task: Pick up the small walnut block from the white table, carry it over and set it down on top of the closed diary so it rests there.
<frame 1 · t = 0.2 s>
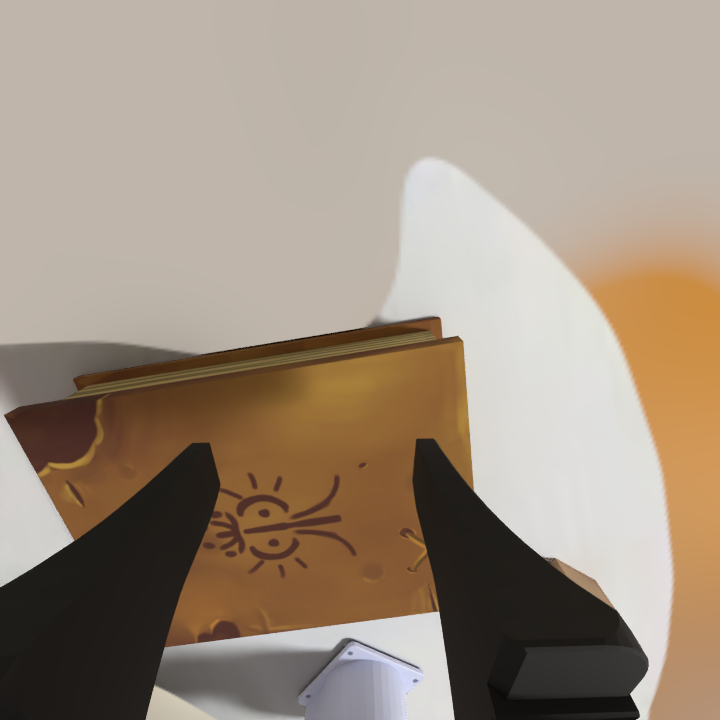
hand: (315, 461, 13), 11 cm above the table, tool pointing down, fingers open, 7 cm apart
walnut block: (555, 586, 30), on the table
diary: (290, 465, 26), on the table
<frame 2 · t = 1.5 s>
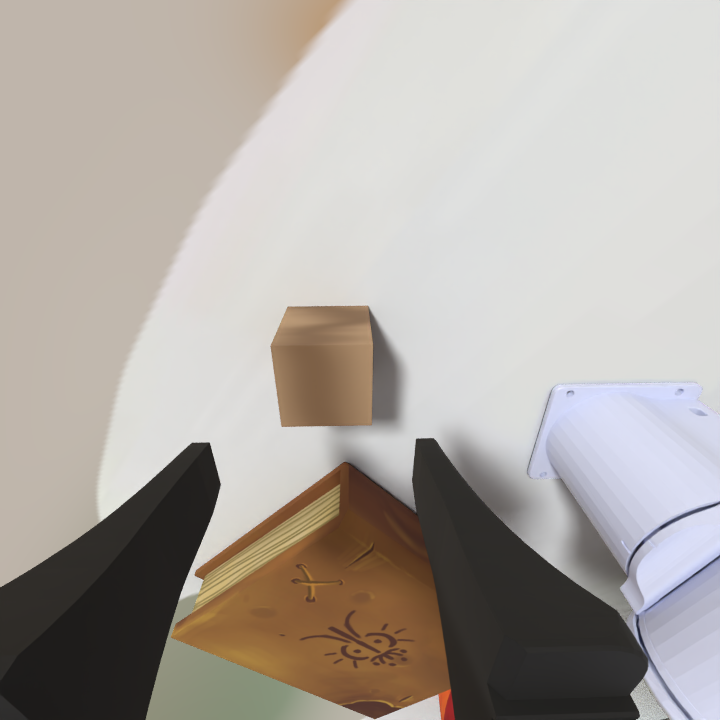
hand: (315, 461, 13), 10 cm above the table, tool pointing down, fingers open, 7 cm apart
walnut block: (329, 342, 21), on the table
diary: (362, 572, 33), on the table
paper cup: (460, 684, 44), on the table
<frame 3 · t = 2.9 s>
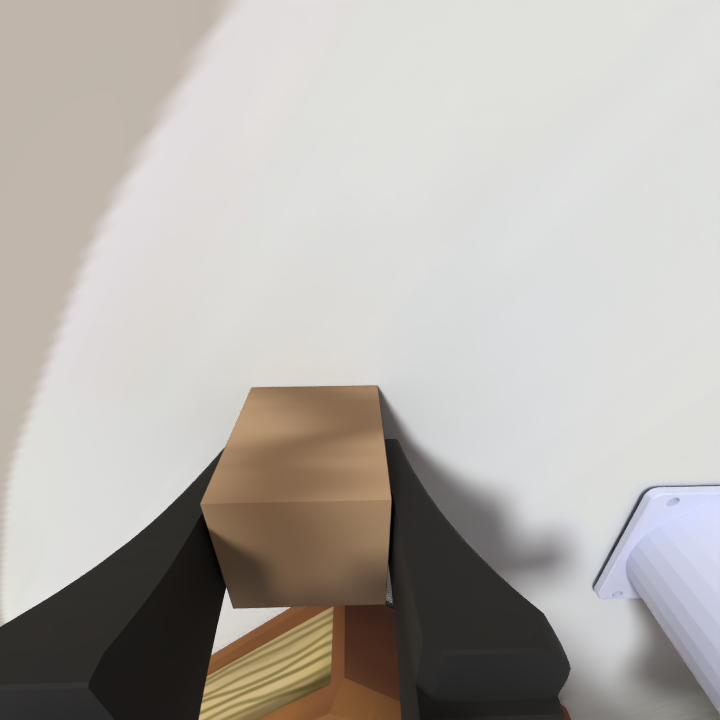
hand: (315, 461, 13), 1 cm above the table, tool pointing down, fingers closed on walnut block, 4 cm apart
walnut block: (318, 435, 14), on the table, touching gripper
diary: (365, 685, 26), on the table
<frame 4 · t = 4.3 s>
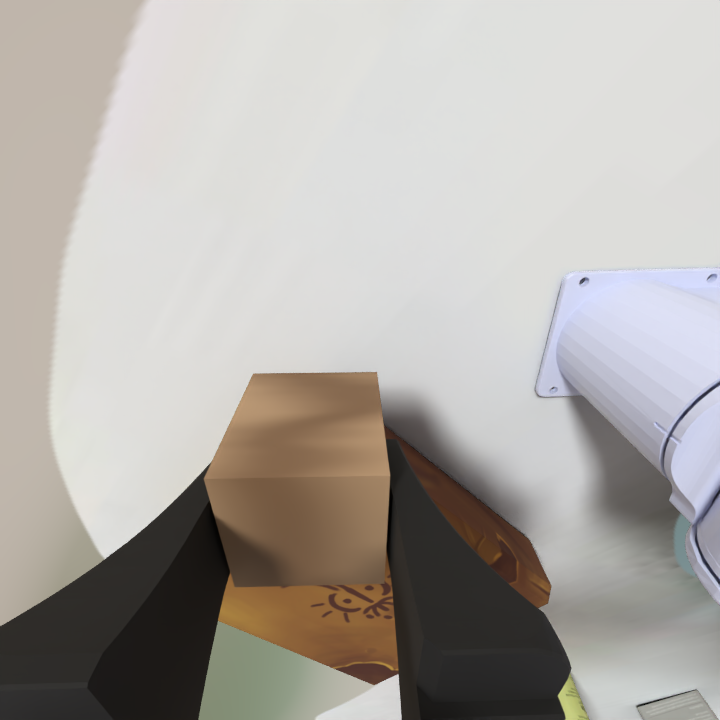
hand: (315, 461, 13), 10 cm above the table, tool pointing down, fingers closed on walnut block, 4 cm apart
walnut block: (318, 422, 14), point 8 cm above the table, touching gripper
diary: (354, 521, 30), on the table
tube: (544, 666, 43), on the table
skincare box: (669, 701, 49), on the table
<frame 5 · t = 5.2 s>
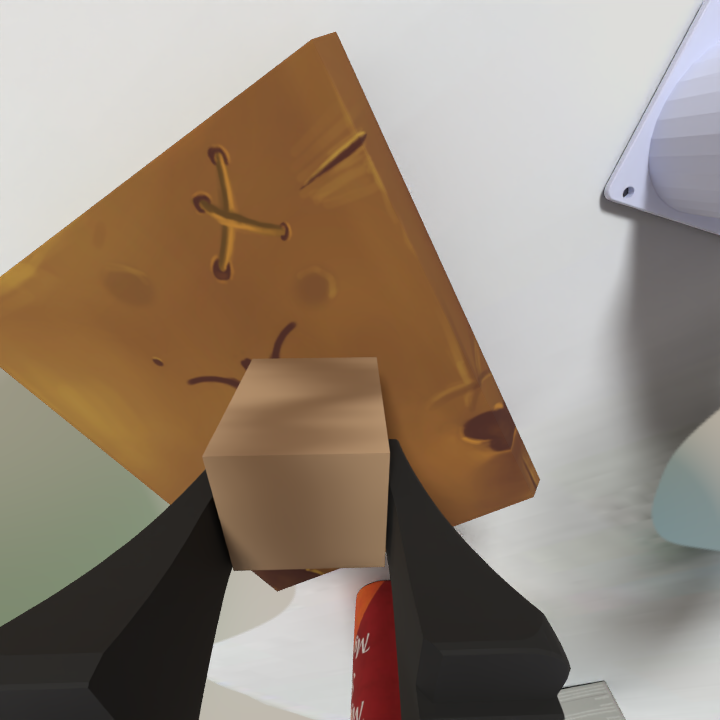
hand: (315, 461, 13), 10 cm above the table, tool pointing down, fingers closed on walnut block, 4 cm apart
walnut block: (318, 408, 14), point 8 cm above the table, touching gripper
diary: (307, 362, 22), on the table
paper cup: (385, 595, 34), on the table
skincare box: (573, 691, 46), on the table
when the fingers open (9 cm above the table, at t = 5.9 s): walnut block drops 2 cm, resting on diary.
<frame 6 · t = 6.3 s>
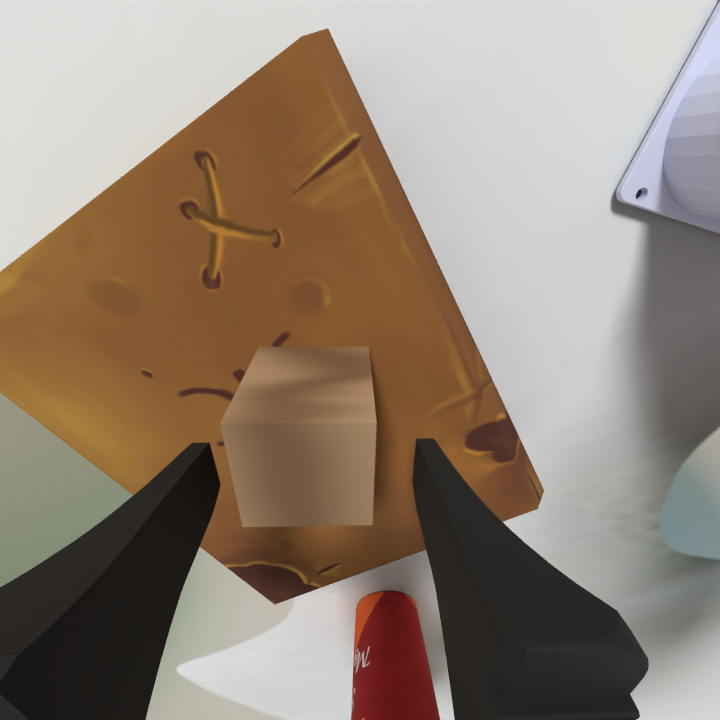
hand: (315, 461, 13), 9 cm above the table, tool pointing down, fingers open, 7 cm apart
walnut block: (316, 392, 16), point 5 cm above the table, touching diary
diary: (303, 370, 22), on the table, touching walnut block
paper cup: (386, 605, 34), on the table
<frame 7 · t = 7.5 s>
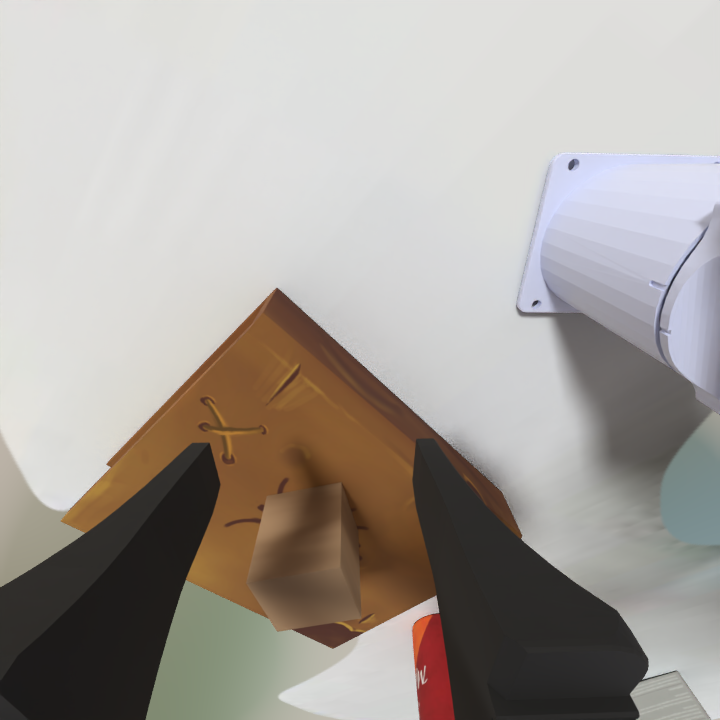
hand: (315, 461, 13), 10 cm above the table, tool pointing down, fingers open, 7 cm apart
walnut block: (314, 514, 22), point 5 cm above the table
diary: (314, 468, 28), on the table
paper cup: (437, 625, 39), on the table
skincare box: (649, 683, 47), on the table
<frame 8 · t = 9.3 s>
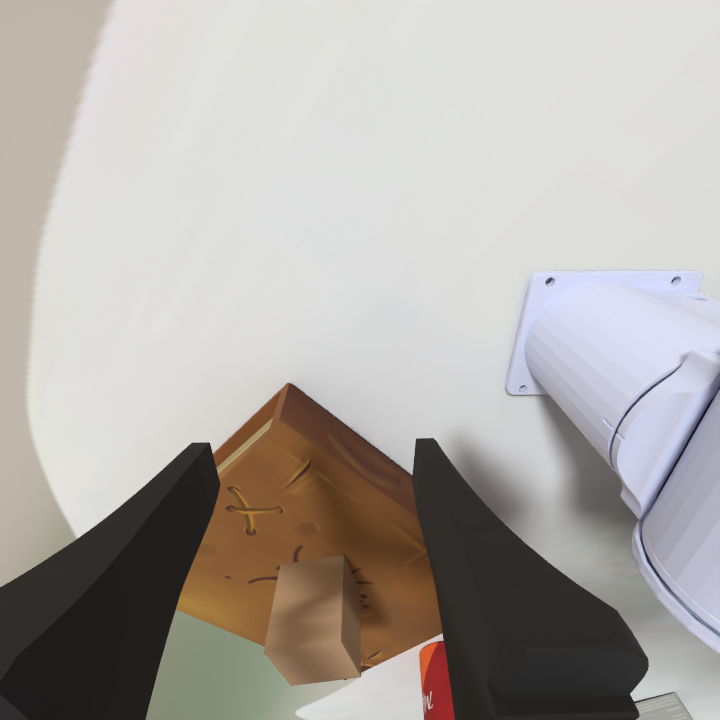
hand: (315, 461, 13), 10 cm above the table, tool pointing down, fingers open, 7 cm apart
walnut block: (321, 578, 25), point 5 cm above the table, touching diary
diary: (325, 520, 31), on the table, touching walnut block
paper cup: (443, 650, 41), on the table
skincare box: (648, 703, 49), on the table
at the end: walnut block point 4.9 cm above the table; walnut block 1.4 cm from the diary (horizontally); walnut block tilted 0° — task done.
